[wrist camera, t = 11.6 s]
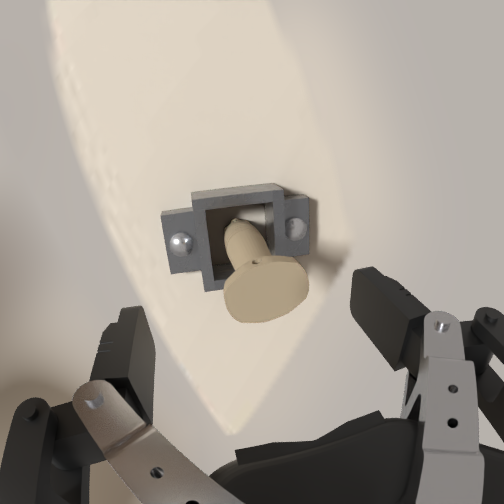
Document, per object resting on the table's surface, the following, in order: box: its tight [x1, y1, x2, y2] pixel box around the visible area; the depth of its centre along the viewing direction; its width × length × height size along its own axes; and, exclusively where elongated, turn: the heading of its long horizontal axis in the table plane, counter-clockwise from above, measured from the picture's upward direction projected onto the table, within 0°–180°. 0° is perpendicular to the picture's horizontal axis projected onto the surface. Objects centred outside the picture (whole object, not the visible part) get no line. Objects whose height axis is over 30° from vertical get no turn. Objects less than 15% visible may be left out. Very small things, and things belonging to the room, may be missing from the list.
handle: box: [223, 218, 309, 323], centre depth 30 cm, size 5×6×15 cm
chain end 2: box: [212, 183, 309, 290], centre depth 35 cm, size 10×12×4 cm
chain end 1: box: [161, 184, 273, 292], centre depth 34 cm, size 10×12×4 cm
